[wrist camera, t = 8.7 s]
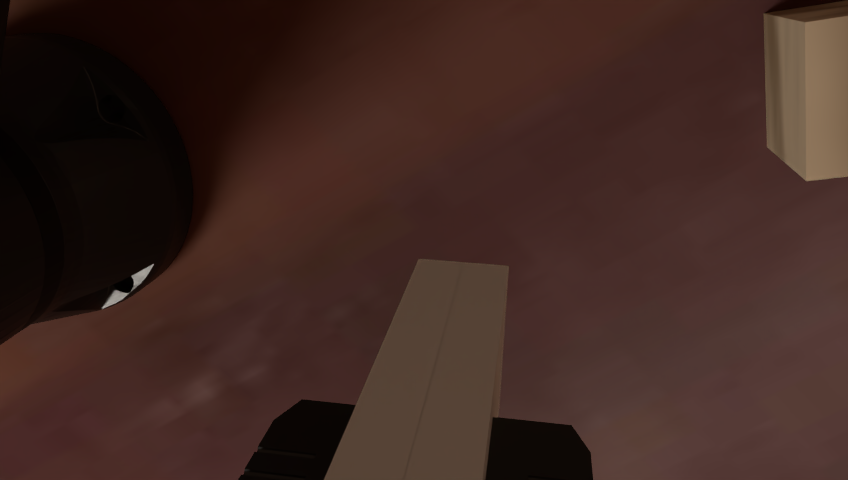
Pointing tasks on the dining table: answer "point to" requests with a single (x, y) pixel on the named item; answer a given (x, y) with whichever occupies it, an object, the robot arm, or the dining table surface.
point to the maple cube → (808, 88)
